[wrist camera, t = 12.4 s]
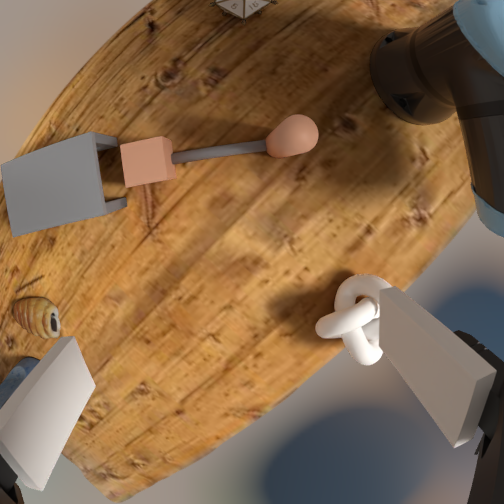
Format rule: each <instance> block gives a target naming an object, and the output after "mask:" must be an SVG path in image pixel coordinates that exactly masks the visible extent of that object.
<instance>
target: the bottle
mask: <svg viewBox="0 0 504 504" xmlns="http://www.w3.org/2000/svg"><path fill="white" fill-rule="evenodd" d="M39 362H40V361H39V360H37V359H35V358H32V357H27V358H24V359H22V360H21V361H20V362H19V363H18V364H17V365H16V366H15V367H14V368H13V369H12V370H11V371H10V373H9V374H8V375H7V377H6V379H5V380H4V381H3V382H2V383H1V385H0V409H1V406H2V405H3V404H4V403H5V401H6V400H7V399H8V398H9V397H11V395H12V394H13V393H14V392H15V390H16V389H17V388H18V387H19V385H20V384H21V383H22V382H23V381H24V379H25V378H26V377H27V376H28V375H29V373H30V372H31V371H32V370H33V369H34V368H35V366H36V365H37V364H38V363H39Z"/></svg>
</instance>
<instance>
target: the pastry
mask: <svg viewBox="0 0 504 504" xmlns="http://www.w3.org/2000/svg"><path fill="white" fill-rule="evenodd" d="M13 317H14V318H15V320H16V321H17V323H18V324H20V325H21V326H22V328H23V329H26V330H27V332H28V333H32V334H33V335H34V336H41V338H43V339H48V338H58V336H59V335H60V322H59V318H58V309H57V307H56V306H55V305H54V304H53V303H52V302H51V301H49V300H48V299H46V298H41V297H39V298H38V297H36V298H27V299H21V300H20V301H17V302H16V304H15V305H14V314H13Z"/></svg>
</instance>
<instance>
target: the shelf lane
mask: <svg viewBox="0 0 504 504" xmlns="http://www.w3.org/2000/svg"><path fill="white" fill-rule="evenodd" d="M117 146H118V145H117V138H115V137H111V136H107V135H103V134H99V133H95V132H88V133H85V134H82V135H79V136H75V137H72V138H69V139H66V140H63V141H61V142H58V143H55V144H52V145H49V146H47V147H44V148H41V149H38V150H36V151H33V152H31V153H28V154H26V155H23V156H21V157H18V158H16V159H13V160H11V161H9V162H6V163H4V164H2V165H1V171H2V179H3V187H4V193H5V199H6V205H7V211H8V216H9V221H10V226H11V231H12V235H13V237H17V236H20V235H24V234H28V233H32V232H36V231H39V230H43V229H47V228H51V227H55V226H59V225H64V224H68V223H72V222H76V221H80V220H85V219H89V218H94V217H98V216H103V215H106V214H108V213H111V212H113V211H116V210H119V209H121V208H124V207H127V201H126V197H125V198H121V199H116V200H112V201H107V202H105V199H104V194H103V188H102V182H101V176H100V169H99V163H98V156H97V152H99V151H102V150H106V149H110V148H113V147H117Z"/></svg>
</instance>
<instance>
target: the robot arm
mask: <svg viewBox="0 0 504 504" xmlns="http://www.w3.org/2000/svg"><path fill="white" fill-rule="evenodd" d="M370 72H371V77H372V80H373V83H374V86H375V88H376V90H377V92H378V94H379V96H380V97H381V99H382V100H383V102H384V103H385V104H386V105H387V106H388V108H389V109H390V110H391V111H393V112H394V113H395V114H396V115H397V116H399V117H400V118H402V119H404V120H406V121H408V122H410V123H413V124H417V125H430V124H436V123H440V122H442V121H444V120H446V119H448V118H449V117H450V116H451V115H452V114H454V113H455V112H456V111H457V114H458V118H459V123H460V127H461V131H462V135H463V139H464V144H465V149H466V154H467V159H468V164H469V170H470V175H471V189H472V192H473V194H474V197H475V202H476V208H477V213H478V216H479V218H480V220H481V221H482V222H483V224H485V226H486V227H487V228H488V229H489V230H491V231H492V232H494V233H495V234H497V235H499V236H502V237H504V0H459V1H457V2H456V3H455V4H454V5H453V6H451V7H450V8H448V9H447V10H445V11H443V12H442V13H440V14H439V15H437V16H436V17H434V18H433V19H431V20H430V21H428V22H426V23H425V24H423V25H422V26H420V27H414V28H403V29H397V30H394V31H391V32H389V33H388V34H386V35H385V36H384V37H382V38H381V39H380V40H379V41H378V42H377V43H376V45H375V46H374V48H373V50H372V53H371V57H370ZM379 347H380V349H381V350H382V351H383V352H384V354H385V355H386V356H387V358H388V359H389V360H390V362H391V363H392V364H393V365H394V367H395V368H396V370H397V371H398V372H399V373H400V375H401V376H402V377H403V379H404V380H405V381H406V383H407V384H408V385H409V387H410V388H411V389H412V391H413V392H414V394H415V395H416V396H417V398H418V399H419V400H420V402H421V403H422V404H423V406H424V407H425V409H426V410H427V411H428V413H429V414H430V415H431V417H432V418H433V420H434V421H435V422H436V424H437V425H438V426H439V428H440V429H441V431H442V432H443V433H444V435H445V436H446V438H447V439H448V441H449V442H450V443H451V445H452V446H453V448H455V447H457V446H459V445H461V444H463V443H465V442H467V441H469V440H471V439H473V437H474V435H475V432H476V430H477V427H478V426H479V427H480V428H481V429H482V430H483V432H484V434H483V436H482V438H481V441H480V443H479V445H478V447H477V449H476V452H475V454H476V455H477V454H478V452H479V455H478V460H477V465H476V470H475V474H474V479H473V483H472V487H471V491H470V495H469V499H468V502H467V504H504V362H503V361H502V360H501V359H499V358H498V357H497V356H496V355H495V354H493V353H492V352H491V351H490V350H489V349H488V350H487V348H486V347H485V346H484V345H482V344H480V342H479V341H478V340H476V339H475V338H474V337H473V336H471V335H470V334H467V333H464V332H462V331H459V330H458V331H455V332H452V331H450V330H449V329H448V328H447V327H446V326H444V325H443V324H442V323H441V322H440V321H438V320H437V319H436V318H435V317H433V316H432V315H431V314H430V313H429V312H427V311H426V310H425V309H424V308H422V307H421V306H420V305H419V304H417V303H416V302H415V301H414V300H412V299H411V298H410V297H409V296H407V295H406V294H405V293H404V292H402V291H401V290H400V289H398V288H397V287H396V286H394V287H389V288H385V289H381V290H379ZM95 387H96V386H95V384H94V381H93V379H92V377H91V375H90V373H89V370H88V368H87V366H86V364H85V361H84V359H83V356H82V354H81V352H80V349H79V347H78V344H77V342H76V339H75V337H74V336H69V337H61V338H60V339H59V340H58V341H57V342H56V343H55V345H54V346H53V347H52V348H51V349H50V350H49V351H48V352H47V354H46V355H45V356H44V357H43V358H42V359H41V361H40V362H39V363H38V364H37V365H36V366H35V368H34V369H33V370H32V371H31V372H30V373H29V375H28V376H27V377H26V378H25V379H24V381H23V382H22V383H21V384H20V385H19V387H18V388H17V389H16V390H15V392H14V393H13V394H12V395H11V397H9V398H8V399H7V400H6V401H5V403H4V404H3V405H2V406H1V409H0V504H24V501H23V497H22V494H21V490H20V488H19V486H18V485H17V484H16V483H15V481H16V479H17V478H18V477H19V478H20V480H21V481H22V482H23V483H24V484H25V485H26V486H27V487H28V488H32V489H35V490H39V491H43V489H44V487H45V485H46V483H47V480H48V478H49V476H50V474H51V472H52V470H53V468H54V466H55V464H56V462H57V459H58V457H59V455H60V453H61V451H62V449H63V447H64V445H65V443H66V441H67V439H68V438H69V436H70V434H71V432H72V430H73V428H74V426H75V424H76V422H77V420H78V418H79V416H80V414H81V413H82V411H83V409H84V407H85V405H86V403H87V401H88V399H89V398H90V396H91V394H92V392H93V390H94V388H95Z"/></svg>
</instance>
